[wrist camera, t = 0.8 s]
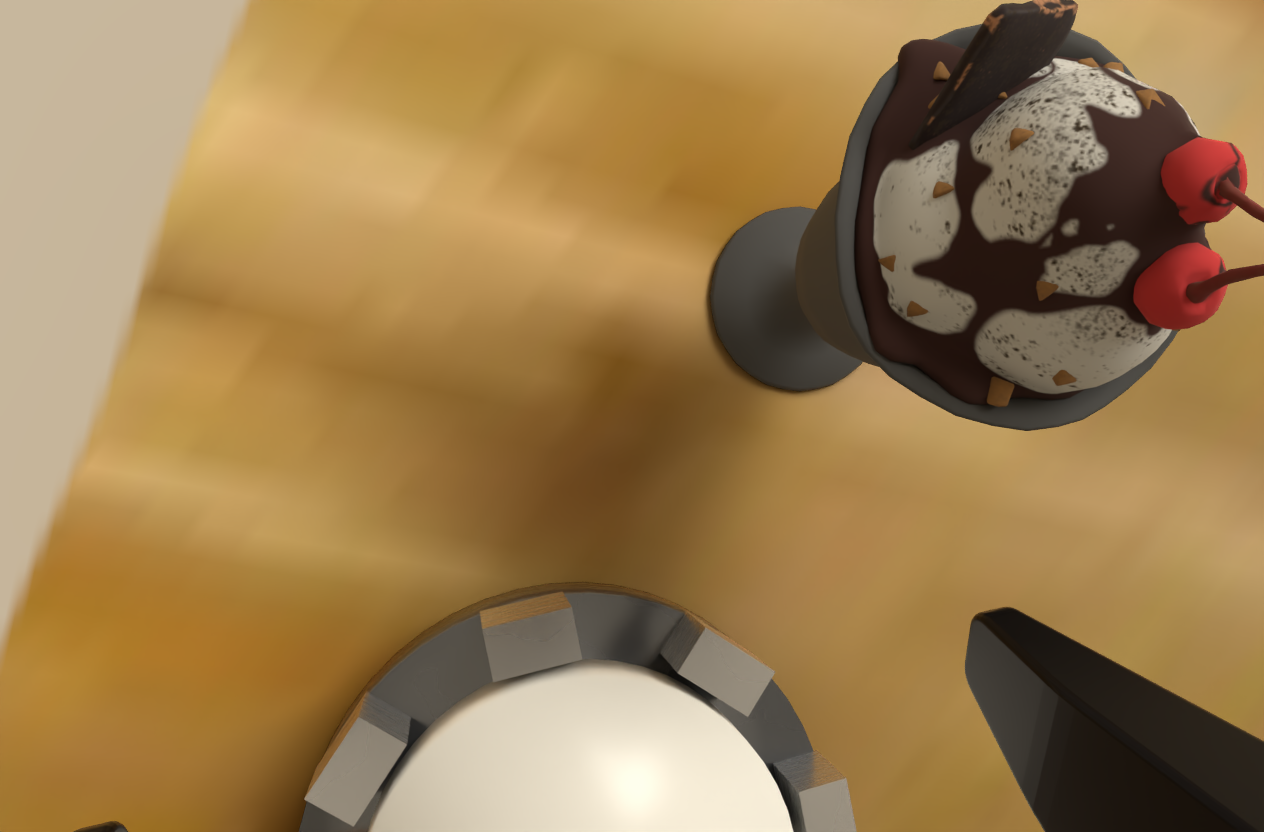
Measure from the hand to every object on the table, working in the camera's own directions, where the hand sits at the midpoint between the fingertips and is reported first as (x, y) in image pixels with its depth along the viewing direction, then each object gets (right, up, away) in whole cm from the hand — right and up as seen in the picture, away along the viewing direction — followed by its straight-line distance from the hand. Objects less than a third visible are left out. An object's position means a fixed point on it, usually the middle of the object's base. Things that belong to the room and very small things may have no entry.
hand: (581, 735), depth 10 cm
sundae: (+5, +7, +15) cm, 17 cm away
